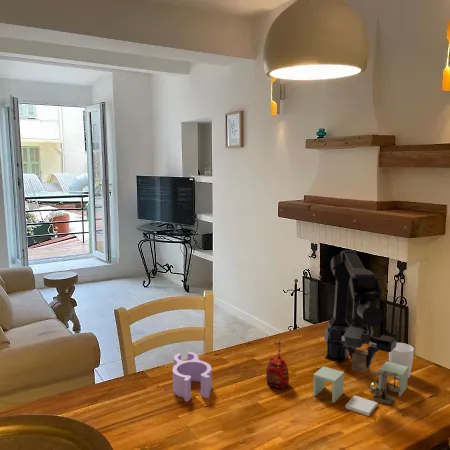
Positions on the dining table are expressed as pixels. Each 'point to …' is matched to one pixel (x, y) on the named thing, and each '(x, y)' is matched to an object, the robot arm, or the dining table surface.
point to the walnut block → (359, 360)
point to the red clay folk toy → (277, 371)
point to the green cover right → (401, 373)
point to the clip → (191, 376)
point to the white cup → (402, 356)
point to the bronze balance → (383, 388)
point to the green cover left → (330, 376)
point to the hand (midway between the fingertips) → (360, 365)
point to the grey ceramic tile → (361, 405)
